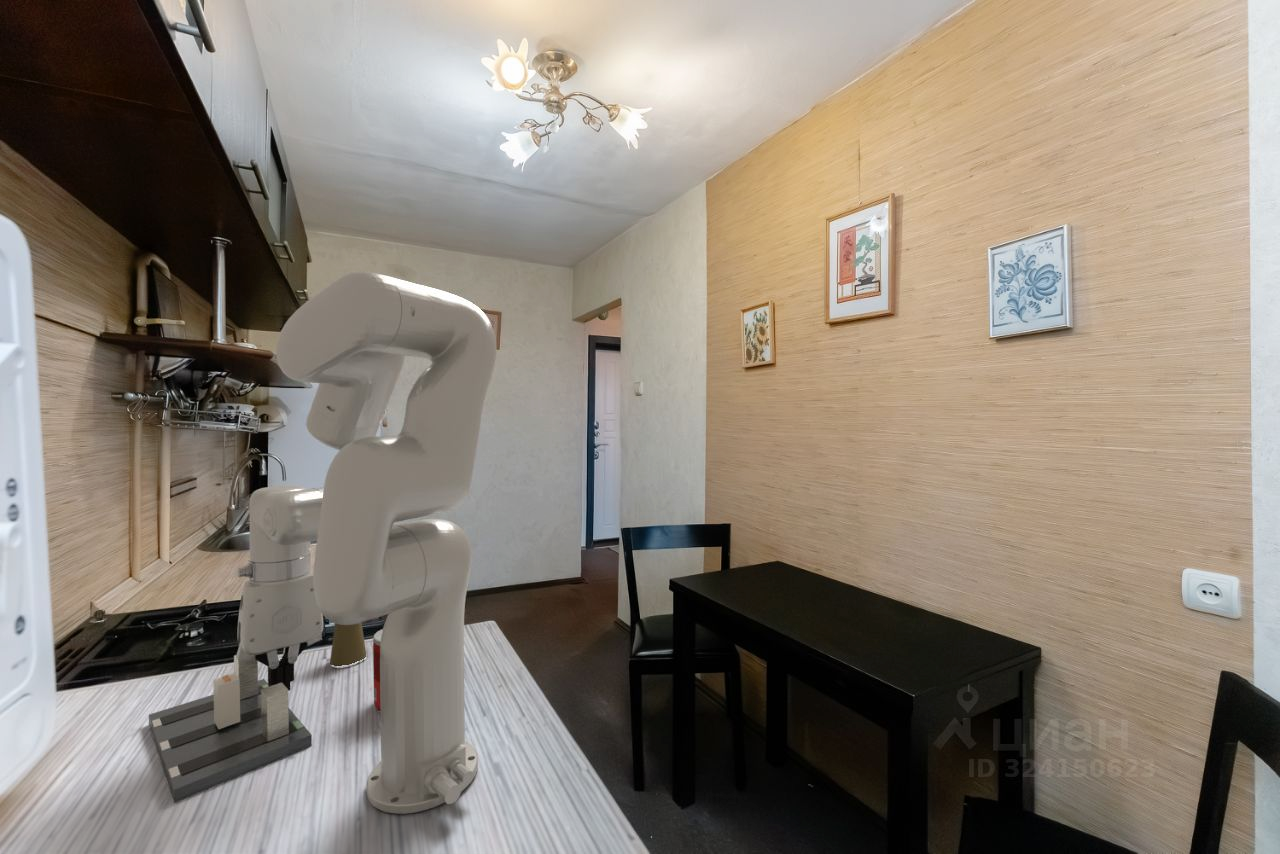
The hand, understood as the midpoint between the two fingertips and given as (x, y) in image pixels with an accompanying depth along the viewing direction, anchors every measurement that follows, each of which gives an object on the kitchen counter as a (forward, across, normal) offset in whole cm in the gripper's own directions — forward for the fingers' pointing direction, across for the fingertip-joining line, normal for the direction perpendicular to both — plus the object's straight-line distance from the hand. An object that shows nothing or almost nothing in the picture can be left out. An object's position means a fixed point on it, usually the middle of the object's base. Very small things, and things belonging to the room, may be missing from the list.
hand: (281, 689), depth 78 cm
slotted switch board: (+4, -7, 0) cm, 8 cm away
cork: (+4, +13, +12) cm, 18 cm away
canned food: (+4, +13, -10) cm, 17 cm away
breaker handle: (+2, -7, 0) cm, 7 cm away
